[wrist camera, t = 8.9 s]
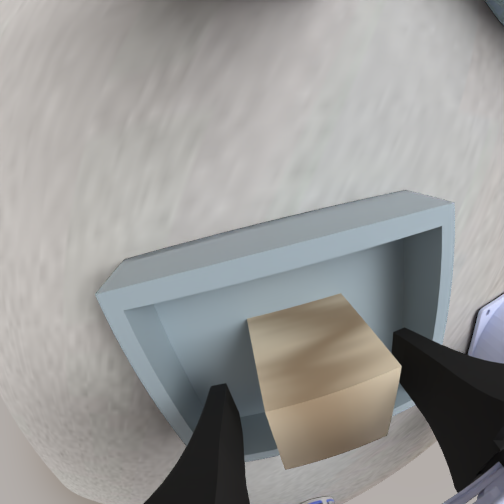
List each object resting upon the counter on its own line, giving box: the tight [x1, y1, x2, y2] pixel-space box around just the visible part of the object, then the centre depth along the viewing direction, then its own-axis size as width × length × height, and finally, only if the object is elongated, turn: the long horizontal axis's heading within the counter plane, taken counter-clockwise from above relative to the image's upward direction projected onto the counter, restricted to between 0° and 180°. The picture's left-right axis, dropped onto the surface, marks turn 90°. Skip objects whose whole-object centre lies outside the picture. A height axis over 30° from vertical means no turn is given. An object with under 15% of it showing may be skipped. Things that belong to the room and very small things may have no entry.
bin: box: [95, 190, 455, 462], centre depth 12 cm, size 14×12×4 cm
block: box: [247, 293, 402, 470], centre depth 11 cm, size 4×4×6 cm
